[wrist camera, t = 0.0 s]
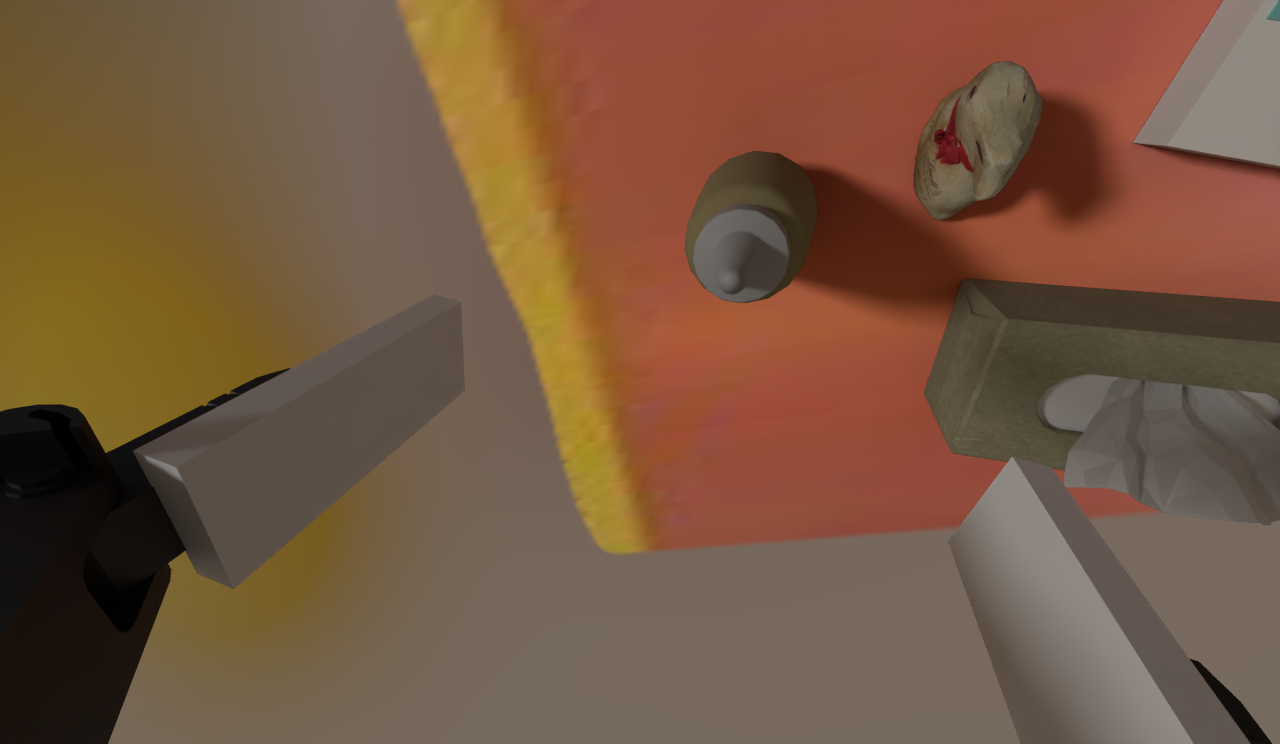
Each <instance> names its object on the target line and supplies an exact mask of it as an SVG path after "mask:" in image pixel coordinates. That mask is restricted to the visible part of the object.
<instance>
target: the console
mask: <svg viewBox="0 0 1280 744" xmlns="http://www.w3.org/2000/svg"><path fill="white" fill-rule="evenodd" d="M1133 143H1138V144H1144V145H1149V146H1155V147H1161V148H1166V149H1172V150H1177V151H1183V152H1189V153H1194V154H1200V155H1206V156H1211V157H1217V158H1222V159H1228V160H1234V161H1239V162H1245V163H1250V164H1256V165H1262V166H1267V167H1273V168H1278V169H1280V0H1223V2H1222V4H1221V5H1220V7H1219V8H1218V10H1217V11H1216V13H1215V15H1214V16H1213V18H1212V19H1211V21H1210V22H1209V24H1208V26H1207V27H1206V29H1205V30H1204V32H1203V33H1202V35H1201V37H1200V38H1199V40H1198V41H1197V43H1196V44H1195V46H1194V48H1193V49H1192V51H1191V52H1190V54H1189V55H1188V57H1187V59H1186V60H1185V62H1184V63H1183V65H1182V66H1181V68H1180V70H1179V71H1178V73H1177V74H1176V76H1175V77H1174V79H1173V81H1172V82H1171V84H1170V85H1169V87H1168V88H1167V90H1166V92H1165V93H1164V95H1163V96H1162V98H1161V99H1160V101H1159V103H1158V104H1157V106H1156V107H1155V109H1154V110H1153V112H1152V114H1151V115H1150V117H1149V118H1148V120H1147V121H1146V123H1145V124H1144V126H1143V128H1142V129H1141V131H1140V132H1139V134H1138V135H1137V137H1136V139H1135V140H1134V142H1133Z"/></svg>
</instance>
